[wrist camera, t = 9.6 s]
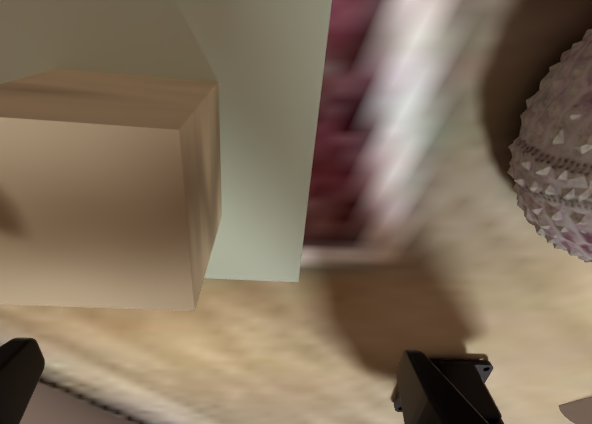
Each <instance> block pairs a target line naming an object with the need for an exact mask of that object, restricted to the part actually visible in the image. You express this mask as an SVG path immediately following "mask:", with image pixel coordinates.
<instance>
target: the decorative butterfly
mask: <svg viewBox="0 0 592 424" xmlns="http://www.w3.org/2000/svg"><path fill="white" fill-rule="evenodd" d="M559 409H560V411H561V412H562V414H563V415H564V416H565V417H566V418H568V419H569V420H570V421H572V422H573V423H575V424H592V397H589V398H585V399H581V400H577V401H574V402H570V403H566V404H563V405H559Z"/></svg>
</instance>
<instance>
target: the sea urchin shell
mask: <svg viewBox="0 0 592 424" xmlns="http://www.w3.org/2000/svg"><path fill="white" fill-rule="evenodd" d="M549 70H550V72H549V73H548V74H547V75H546V76H545V77H544V78H543V79H542V80H541V82H540V88H539V91H538V92H537V93H536V94H535V95H534V96H532V97H530V98H529V99H527V100H526V104H527V109H526V110H525V111H524V112H523V113H522V114H521V116H520V117H521V121H522V124H521V129H520V134H519V136H518V138H517V139H515V140H514V141H513V143H512V144H511V145H510V146H509V147H508V148H509V150H510V151H511V153H512V157H513V158H512V160H511V161H510V162H509V164H510V166H511V167H510V168H509V170H508V172H507V173H508V174H510V175H511V176H512V177H513V178H514V181H515V182H516V183H515V185H514V187H513V189H514V190H515V192H516V193H517V200H518V202H517V205H518V206H519V207H520V208H521V209H522V210H524V216H525V217H526V219H527V221H528V222H529V223H530V224H532V225H534V226H535V228H536V232H537V233H538V234H539V235H541V236H544V237H545V238H546V239H547V242H548V243H553V245H554V248H557V249H563V250H565V251H568V252H569V254H570V256H578V257H579V259H581V260H584V262H592V29H589V30H587V31H586V33H585V35H584V37H583V39H582V41H580V42H578V43H574V44H573V45H572V48H571V49H569V50H567V51H565V52H563V53H562V55H561V60H560V62H559V63H557V64H555V65H553V66H551V67H549Z"/></svg>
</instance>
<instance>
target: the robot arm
mask: <svg viewBox="0 0 592 424" xmlns="http://www.w3.org/2000/svg"><path fill="white" fill-rule="evenodd" d="M44 365H45V360H44V357H43V355H42V353H41V350H40V348H39V345H38V343H37V341H36V340H35V339H33V338H14V339H12V340H10V341H8V342H7V343H5V344H4V345H2V346H0V424H19V423H20V421H21V419H22V417H23V414H24V412H25V410H26V408H27V405H28V403H29V401H30V399H31V397H32V394H33V392H34V390H35V388H36V385H37V383H38V381H39V379H40V377H41V374H42V372H43V370H44ZM492 370H493V366H492V365H491V363H490V362H489V361H482V360H445V359H428V357H427V356H426V355H425V354H424V353H423V352H421V351H418V350H406V351H404V353H403V355H402V358H401V361H400V364H399V367H398V370H397V382H398V388H399V392H398V395H397V397H396V400H395V402H394V408H395V410H396V411H397V412H403V417H404V423H405V424H504V422H503V421H502V419H501V417H502V416H501V413H500V411H499V409H498V408H497V406H496V404H495V402H494V400H493V398H492V396H491V394H490V393H489V391H488V389H487V387H486V385H485V382H486V380H487V378H488V377H489V375H490V373H491V372H492Z"/></svg>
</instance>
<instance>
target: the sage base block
mask: <svg viewBox="0 0 592 424" xmlns="http://www.w3.org/2000/svg"><path fill="white" fill-rule="evenodd" d="M331 4H332V0H0V84H2V83H6V82H9V81H13V80H16V79H20V78H24V77H27V76H31V75H34V74H38V73H41V72H45V71H49V70H52V69H67V70H79V71H91V72H104V73H116V74H128V75H141V76H153V77H165V78H178V79H190V80H202V81H214V82H219V117H220V154H221V191H222V217H221V221H220V224H219V228H218V231H217V235H216V238H215V242H214V245H213V249H212V252H211V256H210V259H209V263H208V266H207V270H206V273H205V277H204V278H215V279H238V280H261V281H285V282H298V281H299V272H300V264H301V256H302V247H303V239H304V230H305V222H306V214H307V205H308V197H309V188H310V180H311V172H312V163H313V155H314V147H315V138H316V130H317V121H318V113H319V105H320V96H321V88H322V79H323V71H324V63H325V54H326V46H327V37H328V29H329V21H330V12H331Z"/></svg>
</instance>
